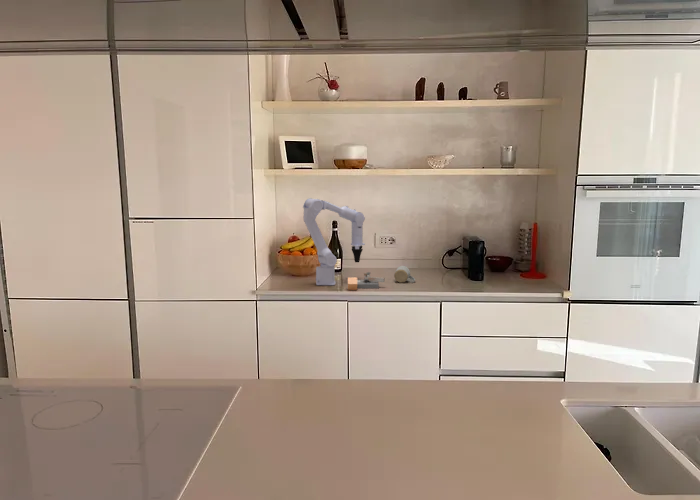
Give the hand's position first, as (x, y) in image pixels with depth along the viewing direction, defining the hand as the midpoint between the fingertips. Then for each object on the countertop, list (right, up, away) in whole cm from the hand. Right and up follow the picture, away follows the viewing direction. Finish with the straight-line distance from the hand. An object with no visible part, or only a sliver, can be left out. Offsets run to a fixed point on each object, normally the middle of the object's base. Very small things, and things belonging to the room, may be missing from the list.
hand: (357, 260), depth 266 cm
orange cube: (-2, -12, -18) cm, 22 cm away
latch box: (+3, -12, -11) cm, 17 cm away
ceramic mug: (+25, -11, 0) cm, 27 cm away
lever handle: (+8, -10, -12) cm, 18 cm away
